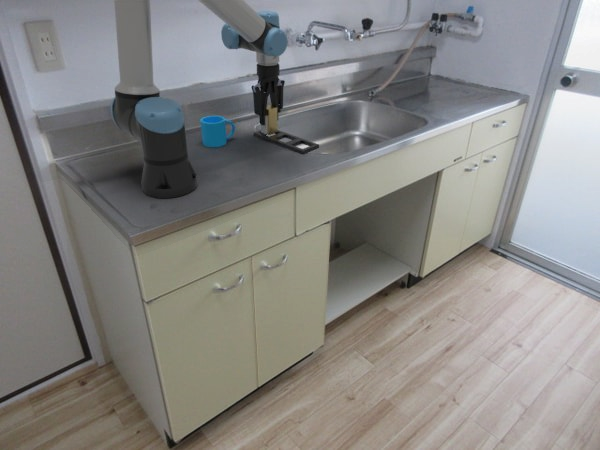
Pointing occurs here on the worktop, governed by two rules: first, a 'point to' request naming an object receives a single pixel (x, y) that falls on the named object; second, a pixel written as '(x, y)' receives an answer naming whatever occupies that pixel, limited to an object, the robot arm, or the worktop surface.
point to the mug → (215, 131)
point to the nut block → (272, 119)
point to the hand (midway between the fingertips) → (269, 131)
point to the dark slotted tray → (290, 144)
